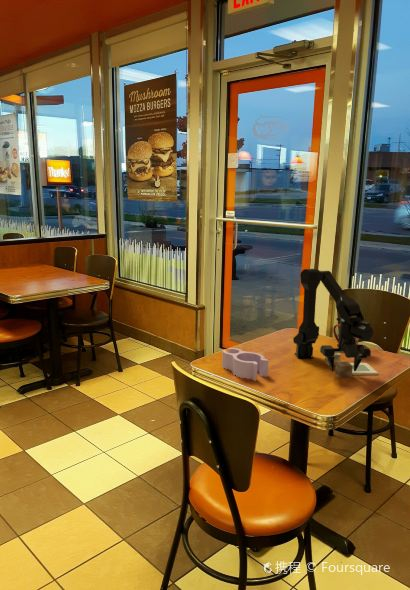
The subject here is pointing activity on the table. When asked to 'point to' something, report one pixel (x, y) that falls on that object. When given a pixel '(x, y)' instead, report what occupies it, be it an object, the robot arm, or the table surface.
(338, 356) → the maple cube
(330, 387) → the table surface
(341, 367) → the walnut cube
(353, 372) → the plate
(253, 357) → the clip
